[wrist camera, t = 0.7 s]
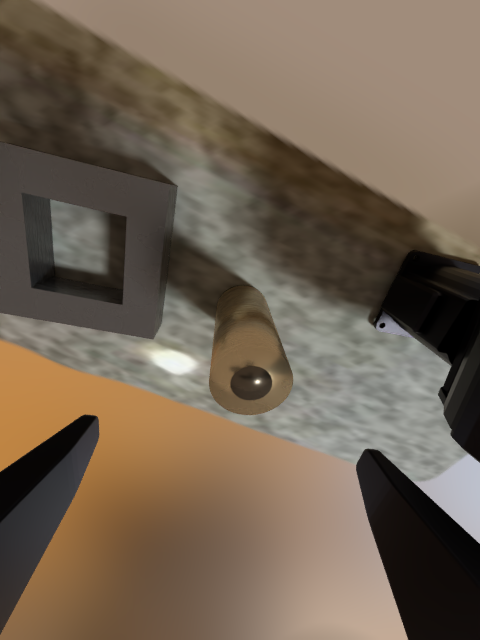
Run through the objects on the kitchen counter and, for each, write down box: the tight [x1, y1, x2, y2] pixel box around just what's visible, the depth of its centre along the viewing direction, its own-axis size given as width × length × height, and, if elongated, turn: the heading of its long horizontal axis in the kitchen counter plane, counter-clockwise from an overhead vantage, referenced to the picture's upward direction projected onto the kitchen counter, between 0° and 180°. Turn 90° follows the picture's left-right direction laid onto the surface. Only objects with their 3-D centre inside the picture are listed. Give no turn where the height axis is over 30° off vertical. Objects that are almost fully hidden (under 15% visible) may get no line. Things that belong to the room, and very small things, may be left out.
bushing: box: [209, 285, 293, 415], centre depth 17 cm, size 4×4×9 cm
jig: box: [0, 142, 178, 339], centre depth 17 cm, size 10×10×2 cm
